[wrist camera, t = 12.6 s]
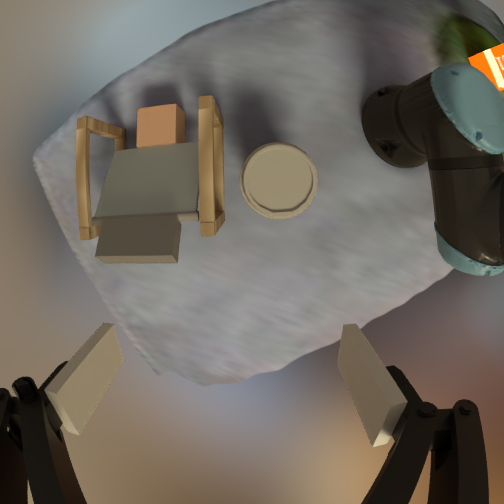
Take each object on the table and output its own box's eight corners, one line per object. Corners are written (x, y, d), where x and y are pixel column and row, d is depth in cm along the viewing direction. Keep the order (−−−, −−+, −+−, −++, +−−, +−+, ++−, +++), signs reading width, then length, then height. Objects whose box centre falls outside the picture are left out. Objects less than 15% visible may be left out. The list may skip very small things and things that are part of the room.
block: (184, 148, 42) (185, 113, 40) (175, 142, 36) (176, 103, 34) (150, 151, 42) (151, 117, 40) (136, 147, 36) (137, 109, 34)
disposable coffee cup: (232, 194, 44) (225, 198, 32) (258, 141, 42) (261, 126, 30) (285, 220, 45) (297, 234, 33) (311, 168, 43) (333, 164, 31)
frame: (223, 119, 41) (212, 95, 28) (224, 220, 45) (214, 236, 32) (117, 131, 41) (77, 118, 28) (120, 224, 45) (80, 240, 32)
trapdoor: (207, 149, 38) (204, 137, 36) (196, 263, 31) (192, 255, 29) (117, 158, 38) (112, 148, 36) (89, 263, 31) (80, 256, 29)
